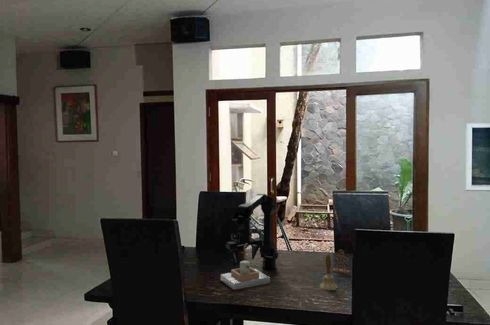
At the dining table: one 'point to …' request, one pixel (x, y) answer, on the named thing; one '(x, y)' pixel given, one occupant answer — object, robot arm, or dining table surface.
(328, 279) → the hand bell
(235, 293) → the dining table surface
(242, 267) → the spout can
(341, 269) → the gingerbread man figurine
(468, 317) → the dining table surface
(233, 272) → the grey board with frame
